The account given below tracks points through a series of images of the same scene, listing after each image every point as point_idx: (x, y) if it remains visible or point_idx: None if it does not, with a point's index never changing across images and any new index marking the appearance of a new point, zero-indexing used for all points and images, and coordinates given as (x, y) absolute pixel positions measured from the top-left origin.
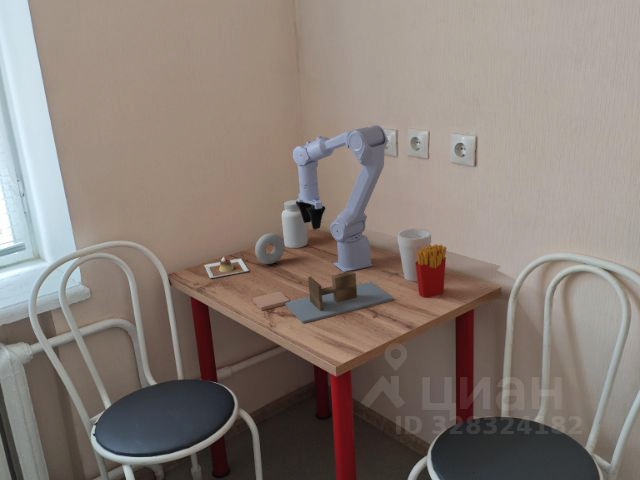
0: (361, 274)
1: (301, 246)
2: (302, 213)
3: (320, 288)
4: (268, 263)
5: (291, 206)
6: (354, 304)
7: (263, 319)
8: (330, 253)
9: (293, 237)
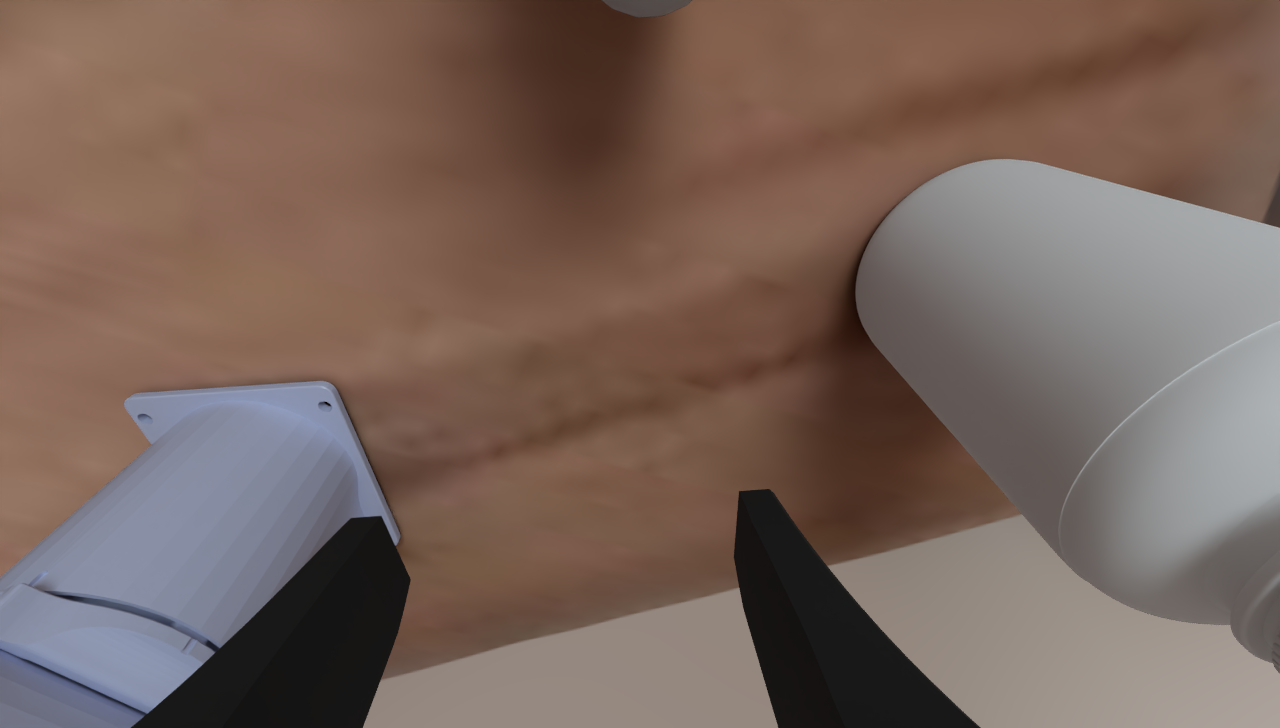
0: (91, 468)
1: (856, 289)
2: (802, 640)
3: None
4: None
5: None
6: None
7: None
8: (586, 425)
9: (933, 261)
